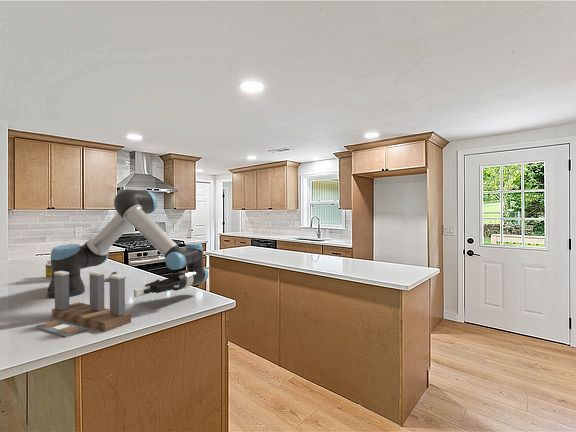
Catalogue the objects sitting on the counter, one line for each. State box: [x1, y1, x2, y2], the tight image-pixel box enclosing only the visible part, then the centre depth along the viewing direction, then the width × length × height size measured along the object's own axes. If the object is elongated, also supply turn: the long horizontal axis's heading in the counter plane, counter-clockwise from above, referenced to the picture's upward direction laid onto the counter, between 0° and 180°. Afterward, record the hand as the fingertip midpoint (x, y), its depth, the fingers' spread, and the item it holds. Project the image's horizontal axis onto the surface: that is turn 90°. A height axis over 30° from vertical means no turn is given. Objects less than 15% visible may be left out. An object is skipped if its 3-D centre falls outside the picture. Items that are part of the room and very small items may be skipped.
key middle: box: [88, 270, 105, 311], centre depth 125 cm, size 3×5×14 cm, turn 63°
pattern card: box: [35, 319, 88, 338], centre depth 113 cm, size 18×7×1 cm, turn 63°
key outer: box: [108, 273, 126, 316], centre depth 119 cm, size 3×5×14 cm, turn 63°
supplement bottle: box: [45, 259, 51, 279], centre depth 192 cm, size 6×6×10 cm
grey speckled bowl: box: [104, 271, 127, 282], centre depth 188 cm, size 12×12×5 cm
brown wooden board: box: [51, 301, 132, 333], centre depth 123 cm, size 32×10×3 cm, turn 63°
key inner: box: [54, 271, 70, 311], centre depth 125 cm, size 3×5×14 cm, turn 63°
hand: (135, 293), depth 126 cm, fingers closed
